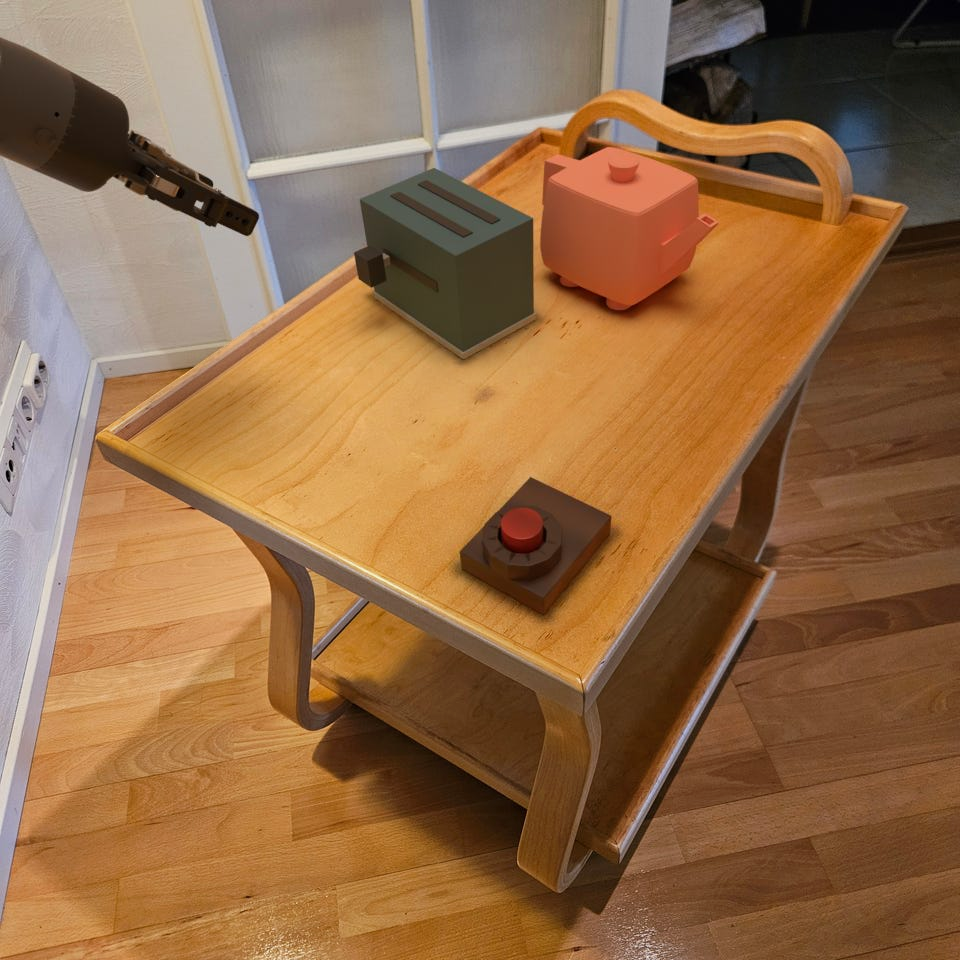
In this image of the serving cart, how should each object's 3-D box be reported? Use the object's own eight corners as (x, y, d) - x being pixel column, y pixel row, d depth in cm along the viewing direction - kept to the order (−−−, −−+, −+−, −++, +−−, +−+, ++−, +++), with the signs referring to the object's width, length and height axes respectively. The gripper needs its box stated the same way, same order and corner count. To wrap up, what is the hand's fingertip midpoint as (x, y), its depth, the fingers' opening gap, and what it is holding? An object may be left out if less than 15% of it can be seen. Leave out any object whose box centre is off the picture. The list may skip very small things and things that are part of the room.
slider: (371, 288, 86) (366, 261, 84) (358, 279, 88) (353, 252, 86) (395, 276, 88) (392, 249, 86) (382, 267, 89) (378, 241, 87)
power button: (527, 560, 62) (527, 545, 61) (493, 542, 64) (492, 527, 63) (550, 533, 64) (551, 518, 63) (517, 516, 66) (516, 501, 64)
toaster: (463, 360, 86) (455, 255, 77) (372, 296, 95) (356, 197, 86) (536, 319, 90) (536, 216, 82) (443, 262, 100) (434, 164, 91)
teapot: (732, 292, 92) (756, 169, 82) (661, 343, 86) (678, 218, 76) (582, 227, 104) (586, 112, 94) (511, 268, 98) (508, 151, 88)
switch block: (543, 616, 63) (543, 584, 60) (460, 569, 67) (457, 537, 64) (610, 533, 69) (613, 500, 66) (530, 493, 72) (530, 461, 69)
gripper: (100, 92, 54) (290, 195, 67) (29, 44, 63) (211, 143, 75) (56, 197, 56) (250, 277, 69) (-7, 136, 64) (177, 218, 77)
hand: (229, 207), depth 72 cm, fingers open, 8 cm apart
